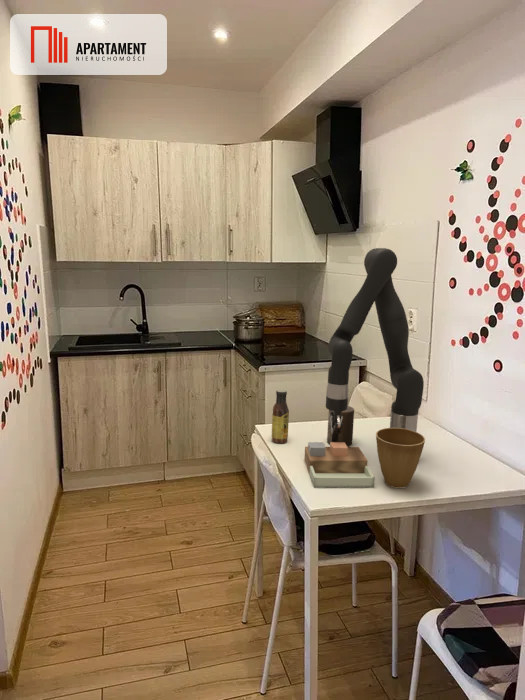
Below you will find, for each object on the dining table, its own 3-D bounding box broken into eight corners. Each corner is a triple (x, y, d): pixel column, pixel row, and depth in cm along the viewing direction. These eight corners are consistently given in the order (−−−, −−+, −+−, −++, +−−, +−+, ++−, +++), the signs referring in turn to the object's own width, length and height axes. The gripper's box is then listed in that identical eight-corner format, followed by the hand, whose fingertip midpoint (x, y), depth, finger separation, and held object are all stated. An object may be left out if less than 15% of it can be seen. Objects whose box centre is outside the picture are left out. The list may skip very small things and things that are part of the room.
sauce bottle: (286, 444, 193) (288, 393, 189) (270, 443, 194) (271, 392, 191) (288, 438, 200) (291, 389, 196) (273, 437, 201) (274, 388, 197)
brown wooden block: (357, 460, 181) (358, 446, 180) (366, 475, 169) (367, 460, 168) (304, 460, 180) (304, 446, 179) (309, 474, 168) (310, 460, 167)
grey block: (322, 450, 176) (322, 442, 175) (325, 456, 171) (325, 447, 170) (307, 450, 175) (308, 442, 175) (310, 456, 171) (310, 447, 170)
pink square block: (344, 450, 176) (344, 442, 176) (347, 456, 171) (347, 447, 171) (329, 450, 176) (330, 442, 175) (332, 456, 171) (332, 447, 170)
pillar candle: (354, 447, 193) (356, 409, 190) (327, 446, 193) (330, 408, 190) (350, 438, 202) (352, 401, 199) (325, 437, 202) (327, 400, 200)
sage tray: (366, 475, 169) (367, 465, 169) (374, 487, 160) (374, 477, 160) (309, 474, 168) (309, 465, 167) (313, 487, 159) (314, 477, 159)
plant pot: (368, 472, 171) (372, 426, 168) (413, 474, 171) (417, 428, 168) (377, 493, 157) (381, 443, 154) (426, 495, 156) (431, 445, 153)
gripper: (352, 401, 171) (349, 450, 174) (344, 390, 184) (341, 436, 187) (329, 400, 170) (327, 450, 174) (323, 390, 183) (320, 436, 187)
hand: (334, 442), depth 180 cm, fingers closed
